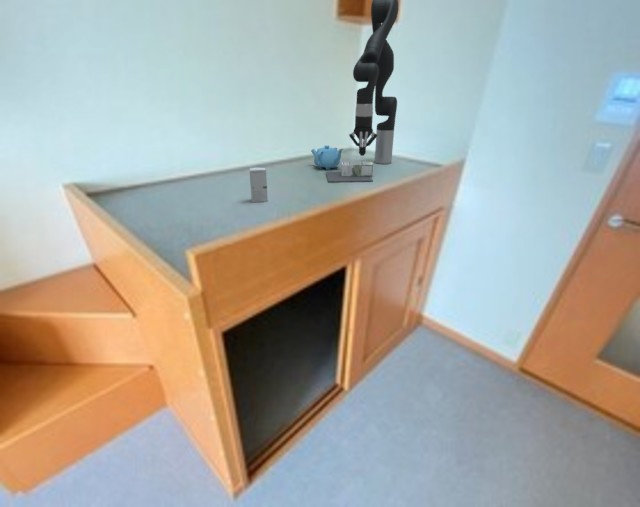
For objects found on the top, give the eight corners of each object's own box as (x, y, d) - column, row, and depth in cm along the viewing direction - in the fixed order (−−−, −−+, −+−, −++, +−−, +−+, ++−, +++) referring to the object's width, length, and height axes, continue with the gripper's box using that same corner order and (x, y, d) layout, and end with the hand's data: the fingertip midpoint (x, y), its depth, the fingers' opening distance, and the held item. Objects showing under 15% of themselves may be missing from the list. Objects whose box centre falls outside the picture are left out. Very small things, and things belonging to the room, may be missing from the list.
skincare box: (252, 202, 132) (249, 170, 126) (251, 199, 135) (248, 167, 130) (268, 201, 133) (266, 169, 127) (267, 197, 137) (265, 166, 131)
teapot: (339, 164, 189) (339, 142, 184) (343, 170, 177) (343, 147, 172) (311, 165, 188) (310, 143, 183) (313, 171, 176) (312, 148, 171)
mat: (325, 172, 173) (325, 171, 172) (366, 172, 173) (366, 171, 173) (328, 182, 156) (328, 181, 156) (372, 181, 157) (372, 180, 157)
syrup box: (372, 161, 165) (341, 161, 166) (373, 164, 160) (341, 164, 161) (371, 173, 168) (341, 173, 169) (372, 176, 163) (341, 176, 164)
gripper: (377, 114, 157) (374, 153, 164) (347, 114, 156) (346, 154, 164) (380, 115, 150) (378, 156, 158) (350, 115, 149) (348, 157, 157)
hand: (362, 155), depth 161 cm, fingers closed
